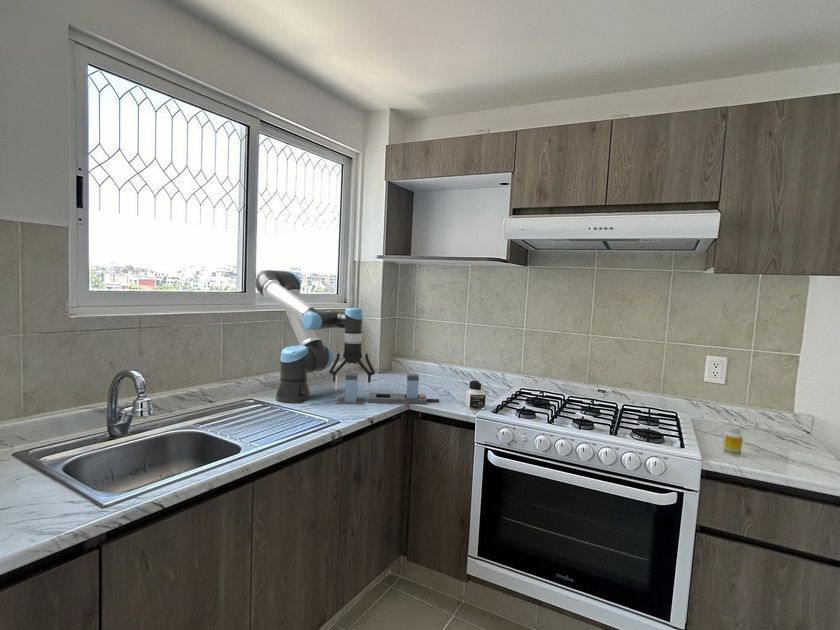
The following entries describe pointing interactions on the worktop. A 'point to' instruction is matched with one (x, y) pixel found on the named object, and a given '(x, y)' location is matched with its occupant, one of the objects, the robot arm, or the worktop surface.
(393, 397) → the strip
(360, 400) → the mat
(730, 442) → the supplement bottle
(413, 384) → the twin plug
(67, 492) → the worktop surface
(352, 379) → the plug
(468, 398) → the medicine bottle
